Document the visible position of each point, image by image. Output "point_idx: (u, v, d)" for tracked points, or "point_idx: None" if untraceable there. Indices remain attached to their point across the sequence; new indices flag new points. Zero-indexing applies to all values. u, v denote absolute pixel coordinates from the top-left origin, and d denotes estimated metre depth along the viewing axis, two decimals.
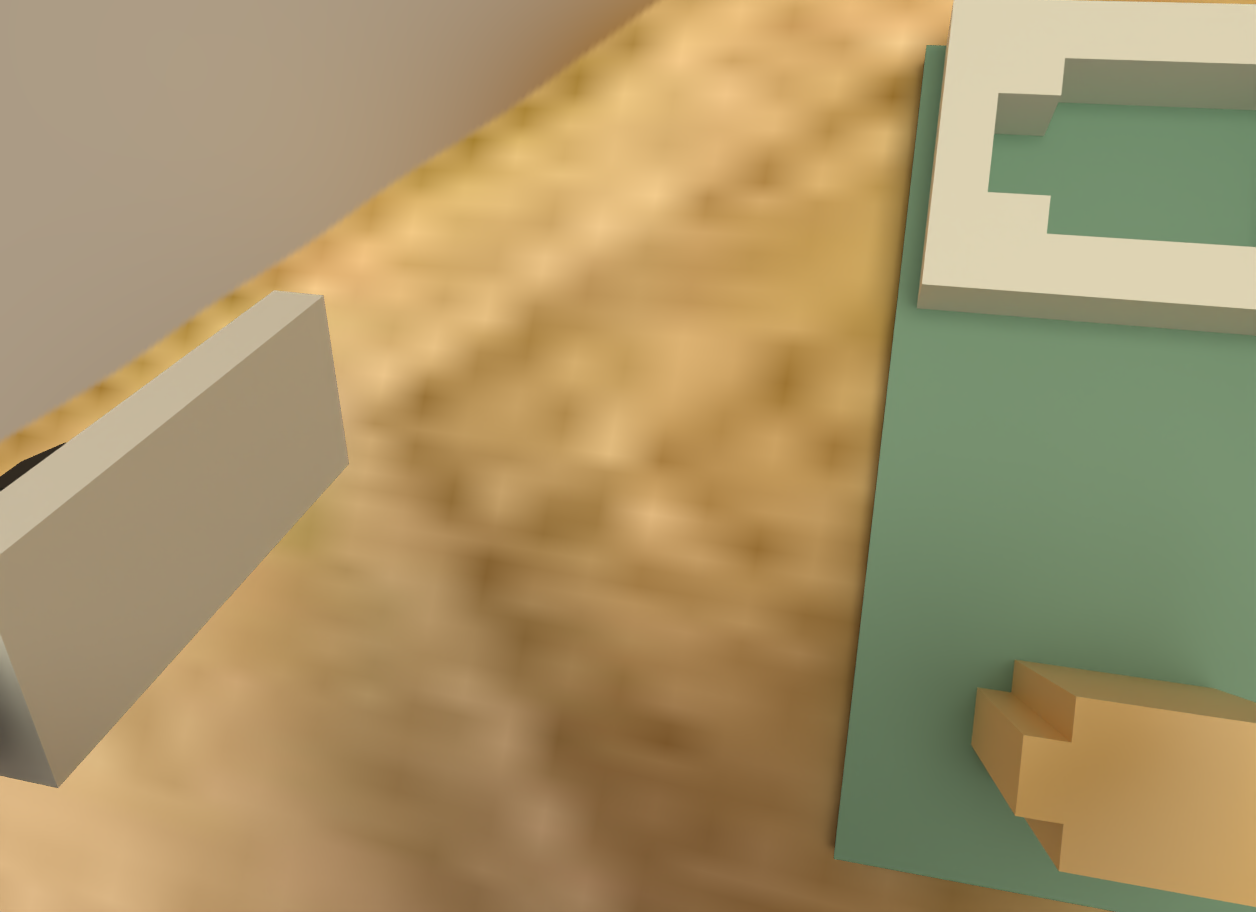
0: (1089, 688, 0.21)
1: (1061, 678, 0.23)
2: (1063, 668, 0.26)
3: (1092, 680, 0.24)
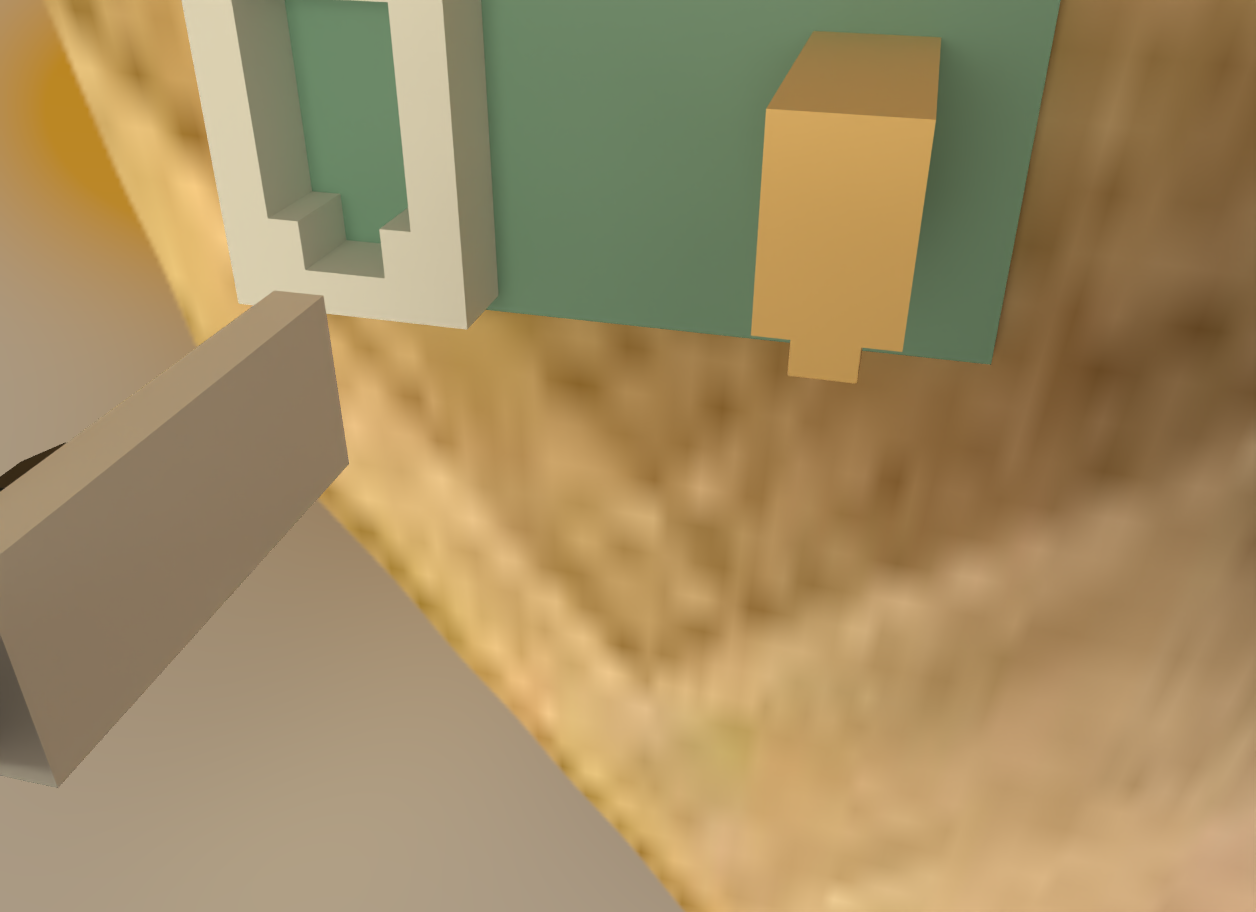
0: None
1: None
2: None
3: None
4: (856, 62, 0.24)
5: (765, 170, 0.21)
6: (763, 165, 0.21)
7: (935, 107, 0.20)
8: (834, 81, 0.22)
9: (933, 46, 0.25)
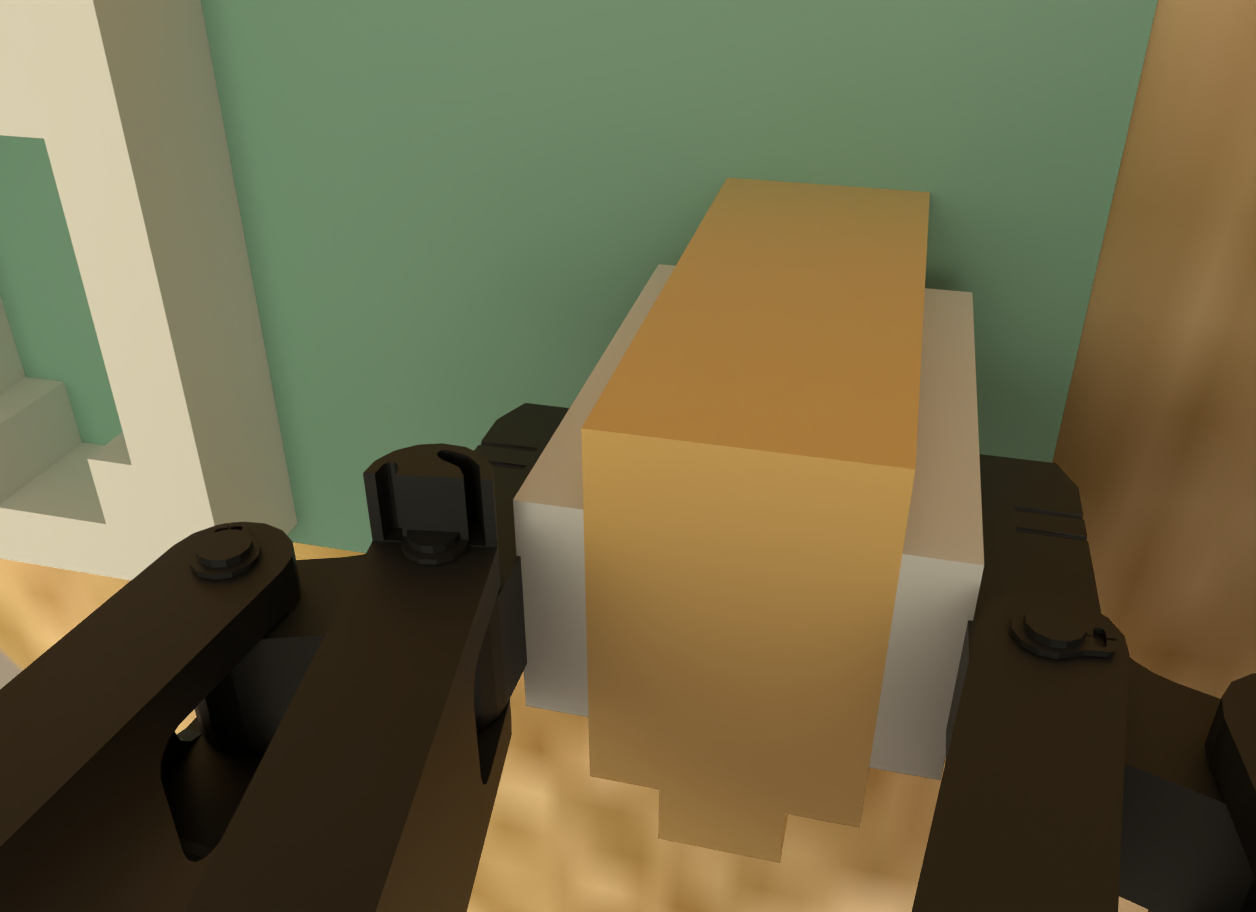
0: None
1: None
2: None
3: None
4: (782, 263, 0.14)
5: (590, 529, 0.11)
6: (587, 517, 0.11)
7: (915, 419, 0.10)
8: (734, 326, 0.12)
9: (916, 217, 0.15)
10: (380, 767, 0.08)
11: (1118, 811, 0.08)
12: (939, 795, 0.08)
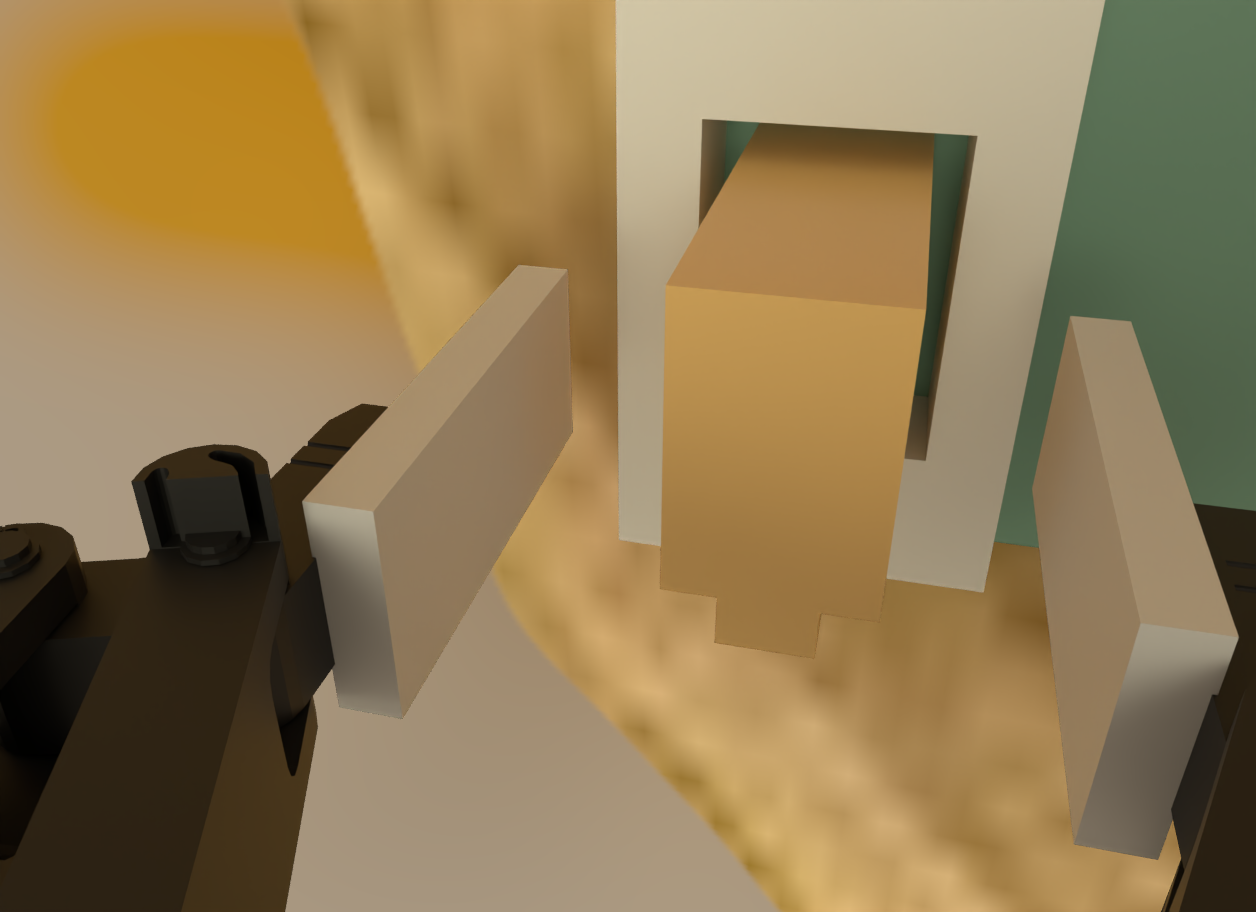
0: None
1: None
2: None
3: None
4: (813, 180, 0.17)
5: (669, 371, 0.14)
6: (665, 362, 0.14)
7: (925, 279, 0.13)
8: (778, 221, 0.15)
9: (923, 147, 0.18)
10: (178, 761, 0.08)
11: None
12: (1191, 874, 0.07)
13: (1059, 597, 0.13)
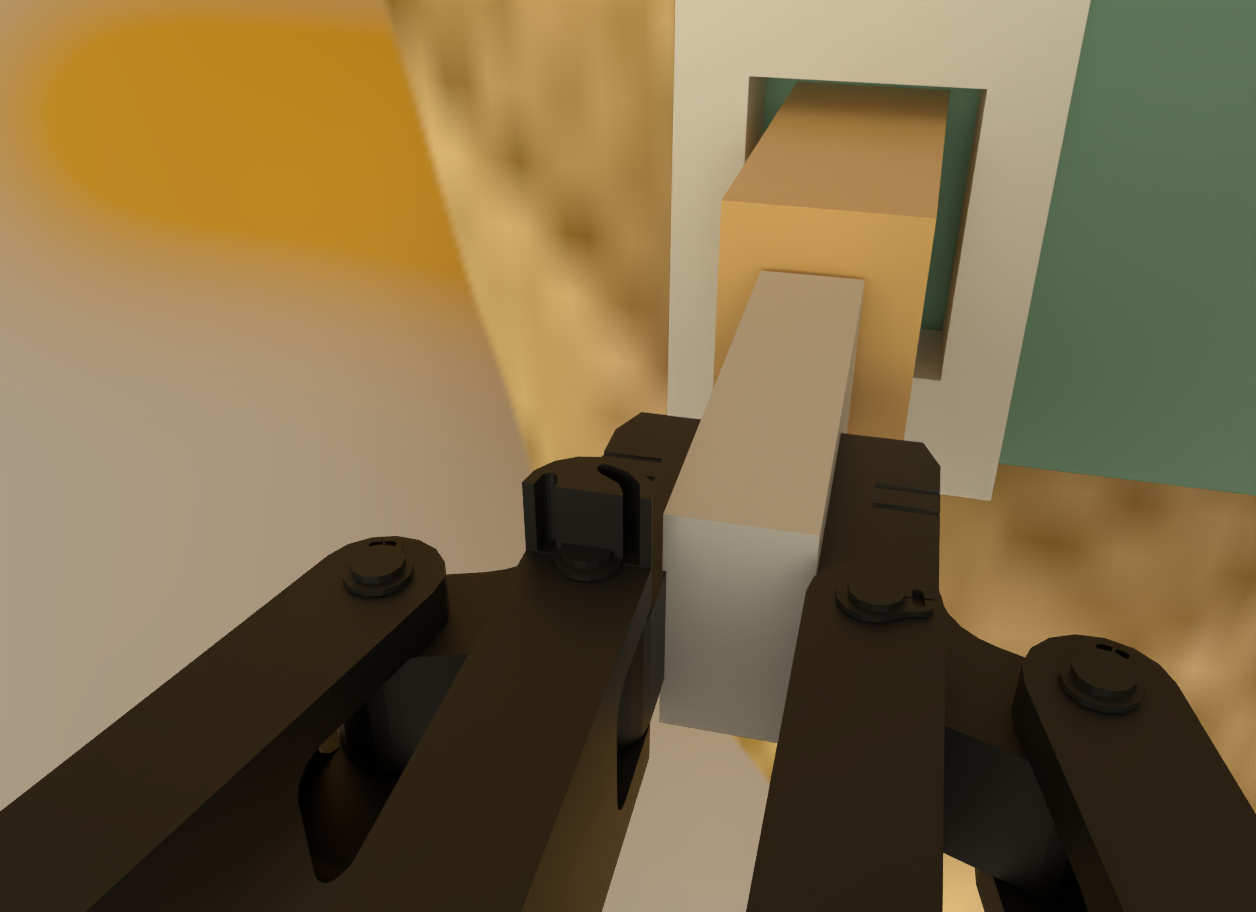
0: None
1: None
2: None
3: None
4: (843, 127, 0.19)
5: (722, 274, 0.16)
6: (719, 267, 0.17)
7: (936, 197, 0.16)
8: (813, 156, 0.18)
9: (939, 103, 0.21)
10: (522, 788, 0.08)
11: (941, 761, 0.08)
12: (774, 765, 0.08)
13: None
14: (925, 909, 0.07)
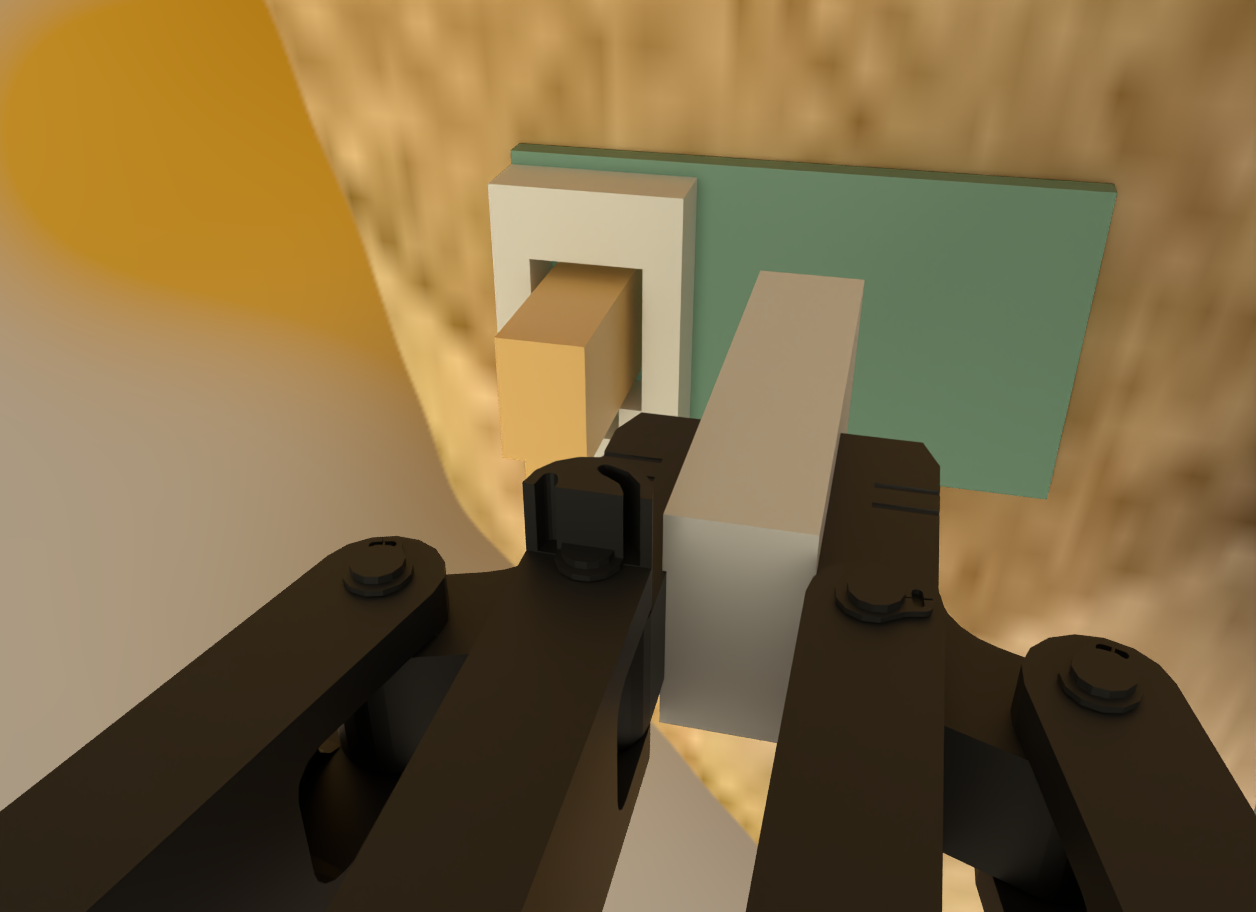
0: None
1: None
2: None
3: None
4: (573, 288, 0.39)
5: (498, 369, 0.36)
6: (497, 365, 0.36)
7: (591, 335, 0.36)
8: (548, 309, 0.38)
9: (631, 269, 0.41)
10: (523, 790, 0.08)
11: (941, 761, 0.08)
12: (773, 764, 0.08)
13: None
14: (924, 909, 0.07)
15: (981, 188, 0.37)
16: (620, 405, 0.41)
